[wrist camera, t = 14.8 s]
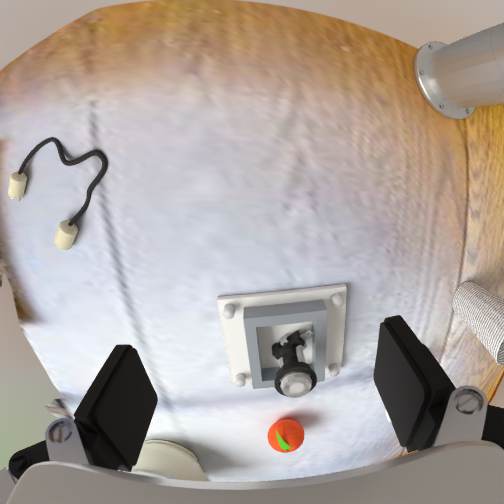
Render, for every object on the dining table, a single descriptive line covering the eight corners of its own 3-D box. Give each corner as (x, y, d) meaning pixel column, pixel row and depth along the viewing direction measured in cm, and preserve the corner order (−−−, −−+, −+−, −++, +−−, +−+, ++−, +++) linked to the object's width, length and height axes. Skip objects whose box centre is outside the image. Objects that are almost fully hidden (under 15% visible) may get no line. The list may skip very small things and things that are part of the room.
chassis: (344, 283, 40) (353, 296, 36) (339, 368, 45) (345, 383, 41) (217, 296, 40) (214, 310, 37) (233, 379, 45) (231, 396, 42)
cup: (440, 317, 42) (488, 369, 28) (454, 273, 40) (512, 317, 25) (470, 315, 42) (516, 360, 28) (484, 274, 40) (538, 313, 25)
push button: (299, 315, 40) (311, 359, 31) (320, 336, 42) (335, 381, 32) (263, 341, 42) (265, 387, 32) (285, 360, 43) (292, 407, 33)
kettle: (126, 457, 56) (103, 530, 33) (123, 421, 51) (89, 512, 27) (219, 479, 58) (213, 557, 35) (234, 449, 53) (229, 546, 29)
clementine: (257, 416, 49) (258, 445, 42) (291, 404, 48) (295, 433, 41) (276, 435, 51) (278, 462, 44) (307, 424, 50) (312, 452, 43)
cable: (50, 109, 32) (37, 108, 29) (119, 164, 35) (108, 166, 32) (13, 192, 36) (0, 196, 32) (72, 250, 39) (61, 257, 36)
